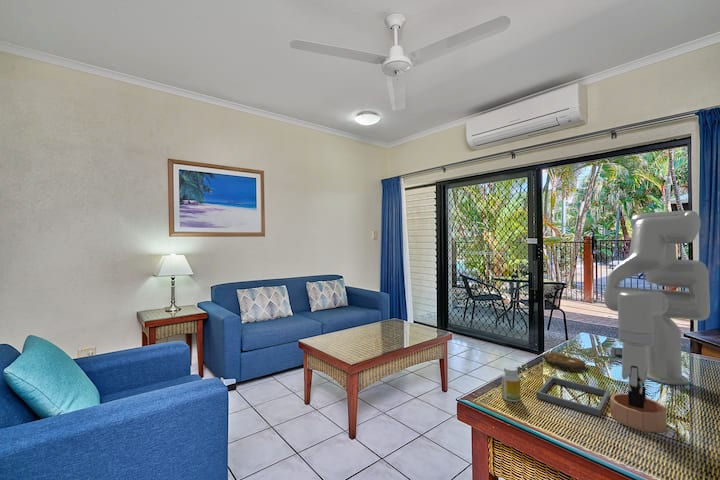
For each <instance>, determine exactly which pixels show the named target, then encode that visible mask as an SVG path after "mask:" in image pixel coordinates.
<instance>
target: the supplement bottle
mask: <svg viewBox="0 0 720 480" xmlns="http://www.w3.org/2000/svg"><path fill="white" fill-rule="evenodd" d="M518 374H519V369H518V368H517V367H515V366H514V365H513V366H512V365H505V366H503V373H502V374H501V397H502V398H503V400H505V401H507V402H512V403H517V402H519V401H520V400H521V376H520V375H518Z"/></svg>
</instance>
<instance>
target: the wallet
mask: <svg viewBox="0 0 720 480" xmlns="http://www.w3.org/2000/svg"><path fill="white" fill-rule="evenodd" d="M622 349H623V347H611V349H610V354H609V355H610V356H609V357H611V358H615V359H621V360H622Z"/></svg>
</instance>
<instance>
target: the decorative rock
mask: <svg viewBox="0 0 720 480" xmlns="http://www.w3.org/2000/svg"><path fill="white" fill-rule="evenodd" d="M542 358H543V359H544V361H545V362H549V363H552V364H553V365H555V366H557V367H564V368H566V369H568V370H570V371H571V372H575V371H576V372H578V371H579V372H584V370H585V366H586V363H585V362H586V360H582V359H580V358H577V357H573V356H568V355H567V356H566V355H563V354H559V353H557V352H553V351H552V352H549V353H543V354H542Z"/></svg>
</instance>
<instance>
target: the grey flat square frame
mask: <svg viewBox="0 0 720 480" xmlns="http://www.w3.org/2000/svg"><path fill="white" fill-rule="evenodd" d="M553 384H557V385H560V386H564V387H568V388H572V389H576V390H580V391H584V392H587V393H592V394H596V395H599V396H602V398H601V400H600V402H599V404H598V406H597V407H594V406H592V405H588V404H585V403H584V404H583V403H580V402H577V401H573V400H569V399H566V398H563V397H560V396H555V395H552V394H548V393H546V392H547V390H548V389H549V388H550V387H551V386H552V385H553ZM610 394H611V391H610V390H609V389H606V388H605V389H604V388H602V387H597V386H593V385H589V384H588V385H587V384H583V383H579V382H576V381H572V380H567V379H564V378H558V377H555V376H550V377H549V378H548V379H547V380H546V381H545V383H543V384H542V385H541V387H540V388H539V389H538V390H536V394H535V395H536V396H535V397H536V398H537V399H538V400H539V399H540V400H543V401H545V402H546V401H547V402H550V403H553V404H556V405H559V406H564V407H567V408H569V409H570V408H571V409H574V410H577V411H581V412H583V413H586V414H591V415H594V416H598V417H601V416H602V414H603V412H604V410H605V407H606V406H607V403H608V401H609V400H610V397H611V395H610Z"/></svg>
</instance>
